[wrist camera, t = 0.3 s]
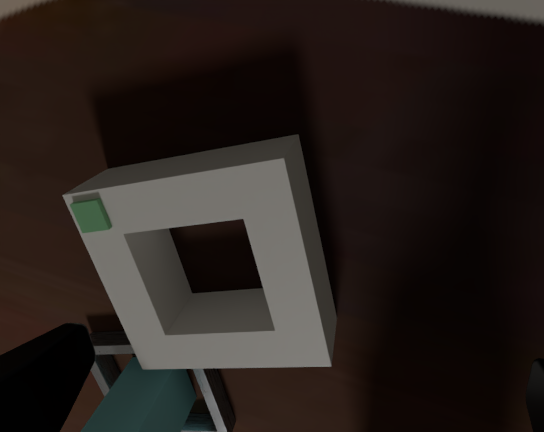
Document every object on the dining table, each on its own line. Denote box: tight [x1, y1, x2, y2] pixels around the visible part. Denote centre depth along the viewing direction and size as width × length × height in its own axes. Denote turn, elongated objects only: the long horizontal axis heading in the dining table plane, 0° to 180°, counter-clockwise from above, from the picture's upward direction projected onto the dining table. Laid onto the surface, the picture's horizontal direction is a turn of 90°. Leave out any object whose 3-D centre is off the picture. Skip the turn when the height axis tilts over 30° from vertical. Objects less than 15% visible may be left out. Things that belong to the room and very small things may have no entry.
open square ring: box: [90, 331, 236, 432], centre depth 30 cm, size 9×9×2 cm
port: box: [62, 134, 337, 370], centre depth 23 cm, size 12×12×4 cm
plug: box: [81, 357, 197, 432], centre depth 27 cm, size 4×4×9 cm
